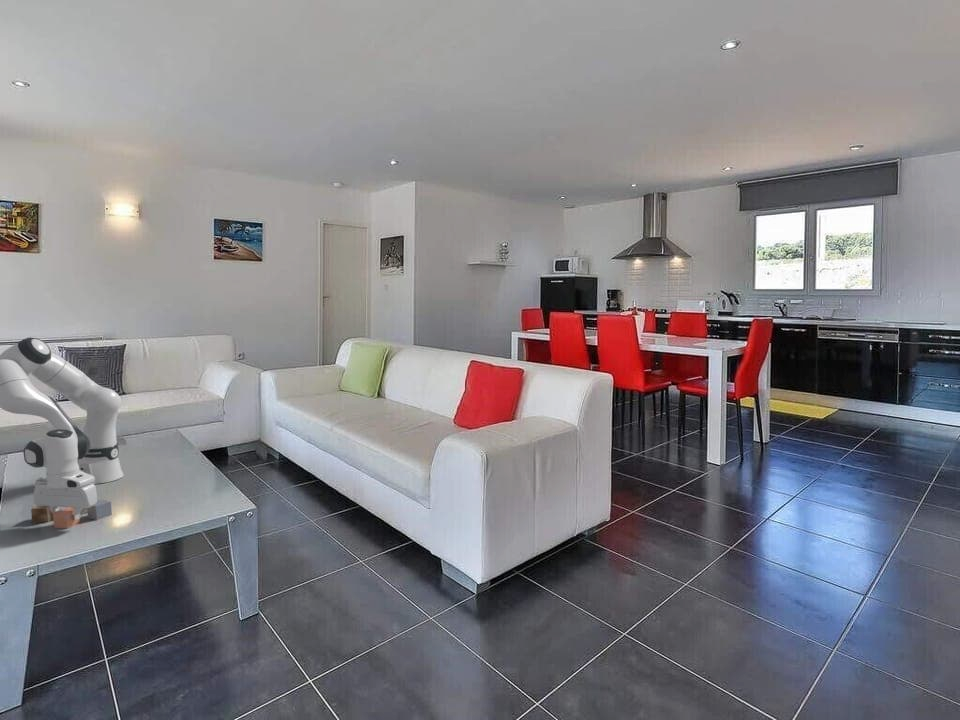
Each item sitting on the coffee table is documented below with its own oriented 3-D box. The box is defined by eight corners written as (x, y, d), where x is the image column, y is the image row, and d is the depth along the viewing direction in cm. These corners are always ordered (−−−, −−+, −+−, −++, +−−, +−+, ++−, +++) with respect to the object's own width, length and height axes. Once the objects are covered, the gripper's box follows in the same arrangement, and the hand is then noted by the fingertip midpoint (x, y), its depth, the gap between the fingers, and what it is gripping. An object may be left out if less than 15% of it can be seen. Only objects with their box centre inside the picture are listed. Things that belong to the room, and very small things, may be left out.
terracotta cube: (54, 527, 183) (52, 513, 182) (66, 521, 188) (65, 507, 187) (67, 528, 182) (66, 513, 182) (80, 522, 187) (79, 508, 186)
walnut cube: (32, 523, 186) (31, 508, 186) (42, 517, 191) (41, 503, 191) (48, 522, 187) (47, 508, 186) (57, 516, 192) (56, 502, 191)
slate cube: (87, 517, 191) (86, 503, 190) (102, 512, 196) (101, 499, 195) (97, 520, 189) (96, 506, 188) (111, 515, 194) (110, 501, 193)
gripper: (26, 480, 181) (30, 520, 183) (83, 483, 179) (87, 524, 180) (43, 474, 187) (46, 513, 189) (99, 476, 185) (102, 516, 187)
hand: (66, 518), depth 185 cm, fingers closed on terracotta cube, 5 cm apart
